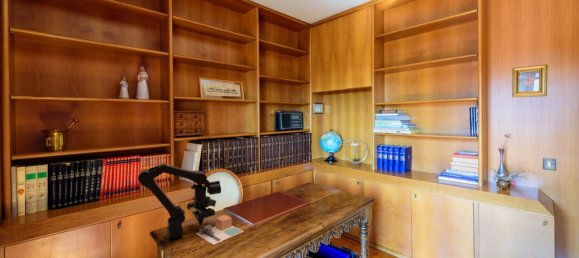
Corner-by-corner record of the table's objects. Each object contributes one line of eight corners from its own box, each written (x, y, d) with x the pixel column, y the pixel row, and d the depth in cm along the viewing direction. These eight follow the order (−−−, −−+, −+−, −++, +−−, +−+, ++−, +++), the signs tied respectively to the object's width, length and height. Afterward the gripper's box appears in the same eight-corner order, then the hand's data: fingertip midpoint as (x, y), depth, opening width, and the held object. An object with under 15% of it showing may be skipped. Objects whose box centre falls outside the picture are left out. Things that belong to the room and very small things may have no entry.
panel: (213, 247, 122) (213, 238, 121) (195, 235, 132) (195, 227, 132) (243, 233, 135) (243, 225, 135) (225, 224, 146) (225, 217, 145)
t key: (199, 233, 132) (199, 227, 131) (209, 229, 136) (209, 224, 136) (207, 238, 127) (207, 232, 126) (218, 234, 131) (218, 228, 131)
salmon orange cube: (222, 230, 136) (222, 221, 135) (215, 227, 140) (215, 218, 139) (231, 226, 140) (231, 217, 140) (225, 223, 144) (224, 214, 144)
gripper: (223, 196, 135) (224, 225, 136) (204, 188, 147) (204, 215, 148) (204, 201, 127) (205, 232, 128) (185, 193, 139) (186, 221, 140)
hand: (200, 224), depth 136 cm, fingers closed
